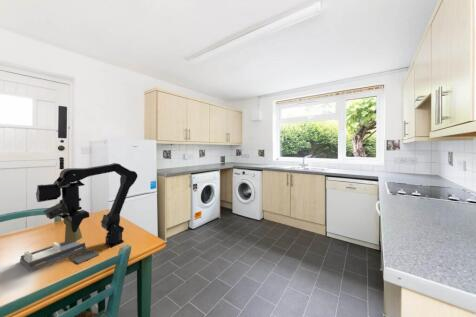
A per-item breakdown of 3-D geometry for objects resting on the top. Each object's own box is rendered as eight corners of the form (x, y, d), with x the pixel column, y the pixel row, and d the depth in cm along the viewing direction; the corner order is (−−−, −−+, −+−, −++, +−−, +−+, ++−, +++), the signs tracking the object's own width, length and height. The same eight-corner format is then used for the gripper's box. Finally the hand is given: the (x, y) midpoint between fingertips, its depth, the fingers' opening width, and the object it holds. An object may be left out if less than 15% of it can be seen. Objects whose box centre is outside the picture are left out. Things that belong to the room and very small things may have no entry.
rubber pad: (90, 250, 92) (90, 249, 92) (99, 255, 88) (99, 254, 88) (69, 258, 84) (69, 257, 84) (78, 264, 81) (78, 263, 81)
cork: (85, 235, 88) (83, 213, 87) (74, 242, 82) (71, 218, 81) (72, 235, 88) (70, 213, 87) (60, 242, 82) (57, 219, 81)
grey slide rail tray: (74, 243, 98) (74, 237, 98) (86, 249, 92) (86, 243, 92) (20, 262, 81) (19, 255, 81) (30, 271, 75) (30, 264, 75)
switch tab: (54, 248, 89) (54, 241, 89) (61, 252, 86) (61, 245, 86) (23, 259, 80) (23, 251, 80) (30, 264, 77) (29, 256, 77)
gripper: (37, 197, 81) (39, 232, 82) (55, 205, 72) (57, 244, 73) (70, 192, 91) (71, 223, 92) (89, 198, 82) (90, 233, 83)
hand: (72, 230), depth 85 cm, fingers closed on cork, 4 cm apart
